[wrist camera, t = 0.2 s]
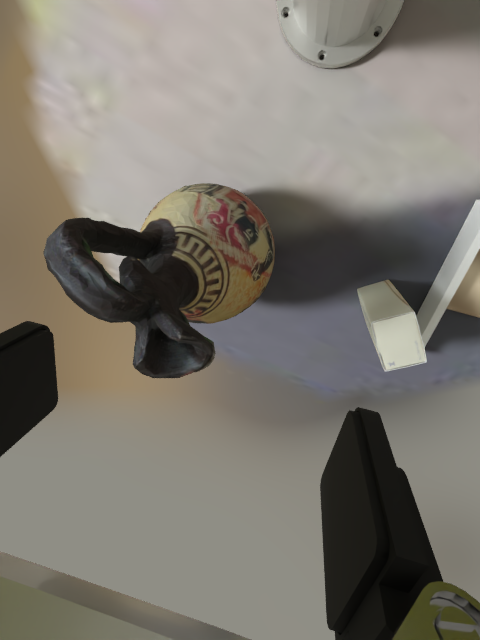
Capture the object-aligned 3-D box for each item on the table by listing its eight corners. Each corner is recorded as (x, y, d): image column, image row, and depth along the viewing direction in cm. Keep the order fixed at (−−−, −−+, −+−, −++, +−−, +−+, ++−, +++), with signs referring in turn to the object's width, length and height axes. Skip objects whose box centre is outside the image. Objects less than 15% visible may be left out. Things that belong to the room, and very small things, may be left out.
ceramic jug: (303, 254, 43) (297, 377, 16) (218, 314, 49) (108, 477, 22) (225, 144, 40) (49, 61, 12) (143, 222, 45) (-96, 281, 18)
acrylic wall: (476, 199, 37) (494, 201, 33) (485, 201, 37) (504, 204, 33) (400, 345, 45) (409, 359, 42) (407, 347, 45) (416, 361, 42)
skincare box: (398, 318, 44) (429, 364, 33) (365, 327, 45) (384, 374, 34) (388, 277, 42) (417, 310, 31) (354, 287, 43) (370, 323, 32)
